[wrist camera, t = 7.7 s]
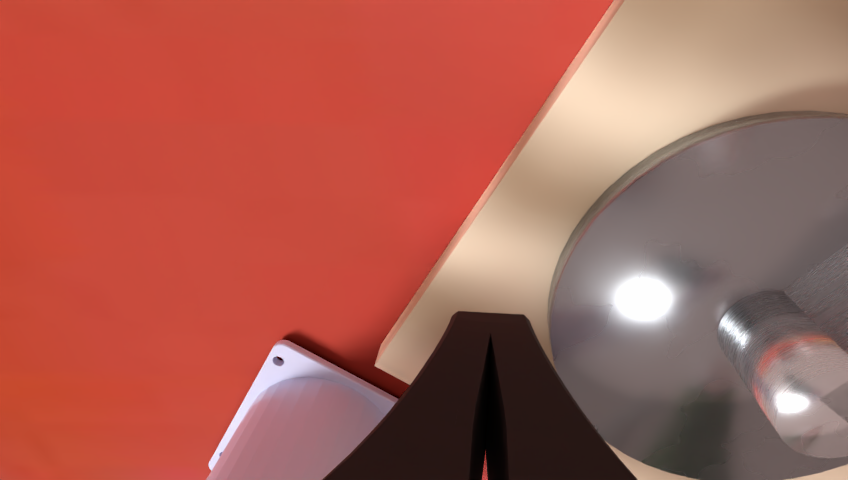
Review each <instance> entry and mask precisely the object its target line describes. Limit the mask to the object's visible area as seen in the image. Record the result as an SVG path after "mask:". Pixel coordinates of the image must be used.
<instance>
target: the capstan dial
mask: <svg viewBox="0 0 848 480" xmlns="http://www.w3.org/2000/svg"><path fill="white" fill-rule="evenodd" d="M547 322H548V331H549V340H550V345H551V351H552V356H553V361H554V364H555V368H556V371H557V374H558V375H559V377H560V378H561V380H562V381H563V383H564V385H565V386H566V388H567V389H568V391H569V392H570V394H571V395H572V397H573V398H574V400H575V401H576V403H577V404H578V406H579V407H580V408H581V410H582V411H583V413H584V414H585V415H586V417H587V418H588V419H589V421H590V422H591V423H592V425H593V426H594V427H595V429H596V430H597V431H598V433H599V434H600V435H601V437H602V438H603V439H604V440H605V441H606V442H607V443H608V444H610V445H611V446H613V447H615V448H616V449H618V450H619V451H621V452H622V453H624V454H626V455H627V456H629V457H631V458H633V459H635V460H638V461H640V462H642V463H644V464H646V465H648V466H651V467H654V468H657V469H660V470H662V471H665V472H668V473H672V474H676V475H680V476H684V477H688V478H693V479H700V480H786V479H793V478H798V477H803V476H808V475H812V474H817V473H821V472H824V471H828V470H831V469H834V468H838V467H841V466H844V465H847V464H848V114H844V113H834V112H822V111H811V110H809V111H783V112H772V113H766V114H760V115H753V116H747V117H742V118H739V119H735V120H731V121H728V122H724V123H720V124H717V125H713V126H710V127H708V128H705V129H703V130H700V131H698V132H695V133H693V134H690V135H688V136H685V137H683V138H681V139H679V140H677V141H675V142H673V143H671V144H670V145H668V146H666V147H664V148H662V149H660V150H658V151H656V152H655V153H653V154H651V155H650V156H649V157H647V158H646V159H644V160H643V161H641V162H640V163H638V164H637V165H635V166H634V167H633V168H631V169H630V170H628V171H627V172H626V173H625V174H624V175H622V176H621V177H620V178H619V179H618V180H617V181H616V182H614V183H613V184H612V185H611V186H610V187H609V188H608V189H606V190H605V191H604V193H603V194H602V195H601V196H600V197H599V198H598V199H597V200H596V201H595V202H594V204H593V205H592V206H591V207H590V208H589V209H588V210H587V211H586V213H585V214H584V216H583V217H582V219H581V220H580V221H579V223H578V224H577V226H576V227H575V229H574V230H573V231H572V233H571V235H570V237H569V239H568V241H567V243H566V245H565V247H564V248H563V250H562V252H561V254H560V257H559V260H558V262H557V265H556V268H555V271H554V274H553V277H552V281H551V287H550V292H549V297H548V313H547Z"/></svg>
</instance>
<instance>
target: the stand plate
mask: <svg viewBox="0 0 848 480" xmlns="http://www.w3.org/2000/svg"><path fill="white" fill-rule="evenodd" d="M809 110H811V111H822V112H834V113H844V114H848V0H614V1H613V2H612V4H611V5H610V7H609V8H608V10H607V11H606V13H605V14H604V16H603V17H602V19H601V20H600V22H599V23H598V24H597V26H596V27H595V29H594V30H593V32H592V33H591V35H590V36H589V38H588V39H587V41H586V42H585V44H584V45H583V47H582V48H581V50H580V51H579V53H578V54H577V56H576V57H575V58H574V60H573V61H572V63H571V64H570V66H569V67H568V69H567V70H566V72H565V73H564V75H563V76H562V78H561V79H560V81H559V82H558V84H557V85H556V87H555V88H554V90H553V91H552V92H551V94H550V95H549V97H548V98H547V100H546V101H545V103H544V104H543V106H542V107H541V109H540V110H539V112H538V113H537V115H536V116H535V118H534V119H533V121H532V122H531V124H530V125H529V126H528V128H527V129H526V131H525V132H524V134H523V135H522V137H521V138H520V140H519V141H518V143H517V144H516V146H515V147H514V149H513V150H512V152H511V153H510V155H509V156H508V157H507V159H506V160H505V162H504V163H503V165H502V166H501V168H500V169H499V171H498V172H497V174H496V175H495V177H494V178H493V180H492V181H491V183H490V184H489V186H488V187H487V189H486V190H485V191H484V193H483V194H482V196H481V197H480V199H479V200H478V202H477V203H476V205H475V206H474V208H473V209H472V211H471V212H470V214H469V215H468V217H467V218H466V220H465V221H464V223H463V224H462V225H461V227H460V228H459V230H458V231H457V233H456V234H455V236H454V237H453V239H452V240H451V242H450V243H449V245H448V246H447V248H446V249H445V251H444V252H443V254H442V255H441V257H440V258H439V259H438V261H437V262H436V264H435V265H434V267H433V268H432V270H431V271H430V273H429V274H428V276H427V277H426V279H425V280H424V282H423V283H422V285H421V286H420V288H419V289H418V291H417V292H416V293H415V295H414V296H413V298H412V299H411V301H410V302H409V304H408V305H407V307H406V308H405V310H404V311H403V313H402V314H401V316H400V317H399V319H398V320H397V322H396V323H395V325H394V326H393V327H392V329H391V330H390V332H389V333H388V335H387V336H386V338H385V339H384V341H383V342H382V344H381V346H380V349H379V352H378V356H377V359H376V362H375V365H374V366H376V367H377V368H379V369H381V370H383V371H385V372H387V373H389V374H390V375H392V376H394V377H396V378H398V379H400V380H402V381H403V382H405V383H407V384H409V385H410V384H411V383H412V382H413V380H414V379H415V378H416V376H417V375H418V373H419V372H420V370H421V369H422V367H423V366H424V364H425V363H426V362H427V360H428V359H429V357H430V356H431V354H432V353H433V351H434V349H435V348H436V346H437V344H438V343H439V341H440V339H441V338H442V336H443V334H444V332H445V330H446V328H447V326H448V324H449V322H450V320H451V317H452V315H454V314H455V313H456V312H457V311H468V312H487V313H506V314H524V315H525V316H526V317H527V318H528V319H529V320H530V323H531V325H532V328H533V330H534V332H535V334H536V336H537V338H538V340H539V342H540V344H541V346H542V348H543V350H544V352H545V353H546V355H547V357H548V359H549V361H550V362H551V364H552V366H553V367H554V369H555V371H556V368H555V364H554V361H553V356H552V351H551V345H550V340H549V331H548V322H547V313H548V297H549V292H550V287H551V281H552V277H553V274H554V271H555V268H556V265H557V262H558V260H559V257H560V254H561V252H562V250H563V248H564V247H565V245H566V243H567V241H568V239H569V237H570V235H571V233H572V231H573V230H574V229H575V227H576V226H577V224H578V223H579V221H580V220H581V219H582V217H583V216H584V214H585V213H586V211H587V210H588V209H589V208H590V207H591V206H592V205H593V204H594V202H595V201H596V200H597V199H598V198H599V197H600V196H601V195H602V194H603V193H604V191H605V190H606V189H608V188H609V187H610V186H611V185H612V184H613V183H614V182H616V181H617V180H618V179H619V178H620V177H621V176H622V175H624V174H625V173H626V172H627V171H628V170H630V169H631V168H633V167H634V166H635V165H637V164H638V163H640V162H641V161H643V160H644V159H646V158H647V157H649V156H650V155H651V154H653V153H655V152H656V151H658V150H660V149H662V148H664V147H666V146H668V145H670V144H671V143H673V142H675V141H677V140H679V139H681V138H683V137H685V136H688V135H690V134H693V133H695V132H698V131H700V130H703V129H705V128H708V127H710V126H713V125H717V124H720V123H724V122H728V121H731V120H735V119H739V118H742V117H747V116H753V115H760V114H766V113H772V112H783V111H809ZM556 372H557V371H556ZM605 442H606V441H605ZM606 443H607V442H606ZM607 444H608V443H607ZM608 445H609V447H610V448H611V449H612V450H613V452H614V453H615V454H616V455H617V456H618V458H619V459H620V460H621V461H622V462H623V463H624V465H625V466H626V467H627V468H628V469H629V470H630V471H631V473H632V474H633V475H634V476H635V477H636V478H637V479H638V480H700V479H693V478H688V477H684V476H680V475H676V474H672V473H668V472H665V471H662V470H660V469H657V468H654V467H651V466H648V465H646V464H644V463H642V462H640V461H638V460H635V459H633V458H631V457H629V456H627V455H626V454H624V453H622V452H621V451H619V450H618V449H616V448H615V447H613V446H611V445H610V444H608ZM786 480H848V464H847V465H844V466H841V467H838V468H834V469H831V470H828V471H824V472H821V473H817V474H812V475H808V476H803V477H798V478H793V479H786Z"/></svg>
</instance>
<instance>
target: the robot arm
mask: <svg viewBox="0 0 848 480" xmlns="http://www.w3.org/2000/svg"><path fill="white" fill-rule="evenodd" d="M277 356H278V357H281V358H282V359H283V360H284V361H281V360H279V359H278V358H277ZM485 450H486V461H487V475H488V480H638V479H637V478H636V477H635V476H634V475H633V474H632V473H631V471H630V470H629V469H628V468H627V467H626V466H625V465H624V463H623V462H622V461H621V460H620V459H619V458H618V456H617V455H616V454H615V453H614V452H613V450H612V449H611V448H610V447H609V445H608V444H607V443H606V442H605V440H604V439H603V438H602V437H601V435H600V434H599V433H598V431H597V430H596V429H595V427H594V426H593V425H592V423H591V422H590V421H589V419H588V418H587V417H586V415H585V414H584V413H583V411H582V410H581V408H580V407H579V406H578V404H577V403H576V401H575V400H574V398H573V397H572V395H571V394H570V392H569V391H568V389H567V388H566V386H565V385H564V383H563V381H562V380H561V378H560V377H559V375H558V374H557V372H556V371H555V369H554V367H553V366H552V364H551V362H550V361H549V359H548V357H547V355H546V353H545V352H544V350H543V348H542V346H541V344H540V342H539V340H538V338H537V336H536V334H535V332H534V330H533V328H532V325H531V323H530V320H529V319H528V318H527V317H526V316H525V315H524V314H506V313H487V312H468V311H457V312H456V313H455V314H454V315H452V317H451V320H450V322H449V324H448V326H447V328H446V330H445V332H444V334H443V336H442V338H441V339H440V341H439V343H438V344H437V346H436V348H435V349H434V351H433V353H432V354H431V356H430V357H429V359H428V360H427V362H426V363H425V364H424V366H423V367H422V369H421V370H420V372H419V373H418V375H417V376H416V378H415V379H414V380H413V382H412V383H411V384H410V386H409V387H408V388H407V389H406V391H405V392H404V393H403V394H402V396H401V397H400V398H399V399H398V398H396V397H394V396H392V395H390V394H388V393H386V392H384V391H382V390H381V389H379V388H377V387H375V386H373V385H371V384H369V383H367V382H366V381H364V380H362V379H360V378H358V377H356V376H354V375H352V374H351V373H349V372H347V371H345V370H343V369H341V368H339V367H337V366H336V365H334V364H332V363H330V362H328V361H326V360H324V359H322V358H321V357H319V356H317V355H315V354H313V353H311V352H309V351H307V350H305V349H304V348H302V347H300V346H298V345H296V344H294V343H292V342H290V341H288V340H279V341H278V342H277V343H276V344H275V345H274V347H273V348H272V350H271V352H270V354H269V356H268V357H267V359H266V361H265V363H264V365H263V366H262V368H261V370H260V372H259V374H258V375H257V377H256V379H255V381H254V383H253V384H252V386H251V388H250V390H249V392H248V393H247V395H246V397H245V399H244V401H243V402H242V404H241V406H240V408H239V410H238V411H237V413H236V415H235V417H234V419H233V420H232V422H231V424H230V426H229V428H228V429H227V431H226V433H225V435H224V437H223V438H222V440H221V442H220V444H219V446H218V447H217V449H216V451H215V453H214V455H213V456H212V458H211V460H210V462H209V468H210V470H211V473H210V474H209V476H208V478H207V479H206V480H482V473H483V466H484V458H485Z"/></svg>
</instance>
